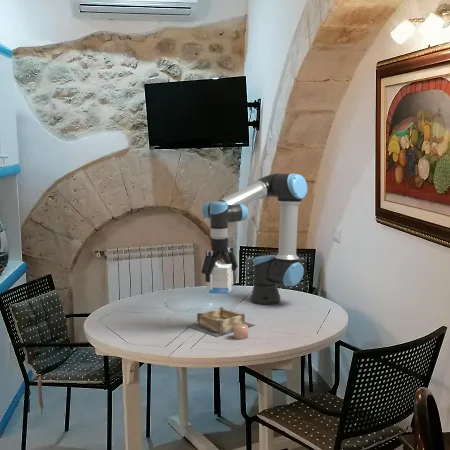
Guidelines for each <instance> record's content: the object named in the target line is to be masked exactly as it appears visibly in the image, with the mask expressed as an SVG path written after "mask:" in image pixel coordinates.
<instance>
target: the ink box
mask: <svg viewBox="0 0 450 450" xmlns="http://www.w3.org/2000/svg"><path fill="white" fill-rule="evenodd" d="M231 266H232V264H226V263H223V262H222V261H221V259H219V260H218V261H216V263H215V265H214V268H213V270H212V272H211V275H212V290H209V289H208V293H209V294H218V295H221V294H224V295H228V294H229V293H230V292H231V291H232V285H231Z"/></svg>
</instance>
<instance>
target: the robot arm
mask: <svg viewBox="0 0 450 450" xmlns="http://www.w3.org/2000/svg"><path fill="white" fill-rule="evenodd" d="M307 193H308V184H307V181H306V179H305V177H303V176H302V175H301V174H298V173H277V172H276V173H270V174H268V175H266V176H263V177H261V178H258V179H256V180H254V181H253V183H252V184H251V185H248V186H246V187H244V188H242V189H240V190H238V191H236V192H234V193H232V194H230V195H227V196H225V197H223V198H221V199H219V200H217V201H213V202H212V201H210V202H206V203H205V204H203V206H202V209H201V210H202V215H203V217H204V218H206V219H207V220H208V219H209V220H210V221H209V223H210V225H209V227H210V237H211V238H210V247H211V250H206V251H205V258H204V261H203V264H202V265H203V266H202V268H201V274H202V275H205V282H206V289H207V290H208V291H209V290H212V275H211V272H212V270H213V268H214V265H215V263H216V262H217V261H218V260H223V261H224V262H225V264H232V266H231V286H233V285H234V277H235V271H236V270H237V268H238V263H237V260H236V257H235V254H234V248H233V247H230V246H229V238H228V237H229V223H235V222H242V221H245V220H246V219H247V218H248V217H249V209H248V207H247V206H246V205H249V204H251V203H253V202H254V201H257V200H263V199H265V198H271V197H272V198H273V197H275V198H277V202H278V204H279V205H280V208H279V210H280V211H279V230H278V231H279V232H278V236H279V237H278V252H277V255H275V254H267V255H260V256H256V257H255V258H254V259H253V265H252V266H253V267H252V268H253V287H252V291H251V294H250V303H253V304H257V305H274V304H279V303H280V302H281V295H280V292H279V288H278V285H279V284H280V285H284V286H285V287H286V286H290V287H294V286H297V285H298V284H299V283H300V281H302V279H303V276H304V273H305V271H304V266H303V265H302V263H300V257H299V256H298V255H297V244H298V242H297V241H298V221H299V205H300V204H301V203H302V202H303V201H302V199H304V198H305V197H306V194H307Z"/></svg>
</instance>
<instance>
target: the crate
mask: <svg viewBox="0 0 450 450" xmlns="http://www.w3.org/2000/svg"><path fill="white" fill-rule="evenodd" d="M245 314H246V313H239V312H235V311H232V310H229V309H224V307H219V308H217V309H214V310H209V311H206V312H199V313H197V314H196V321H197V322H196V323H192V324H189V325H187V326H186V327H187V328H190V329H193V330H196V331H199V332H202V333H204V334H208V335H210V336H213V337H216V338H219V337H222V336H225V335H229V334H233V325H235V324H247V325H248V329H249V328H252V327H255V326H256V325H255V324H253V323H250V322H248V321H246V315H245Z"/></svg>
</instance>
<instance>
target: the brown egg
mask: <svg viewBox="0 0 450 450" xmlns="http://www.w3.org/2000/svg"><path fill="white" fill-rule="evenodd" d="M232 334H233V339H235V340H246V339H249V328H248V325H247V324H235V325H233V332H232Z"/></svg>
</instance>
